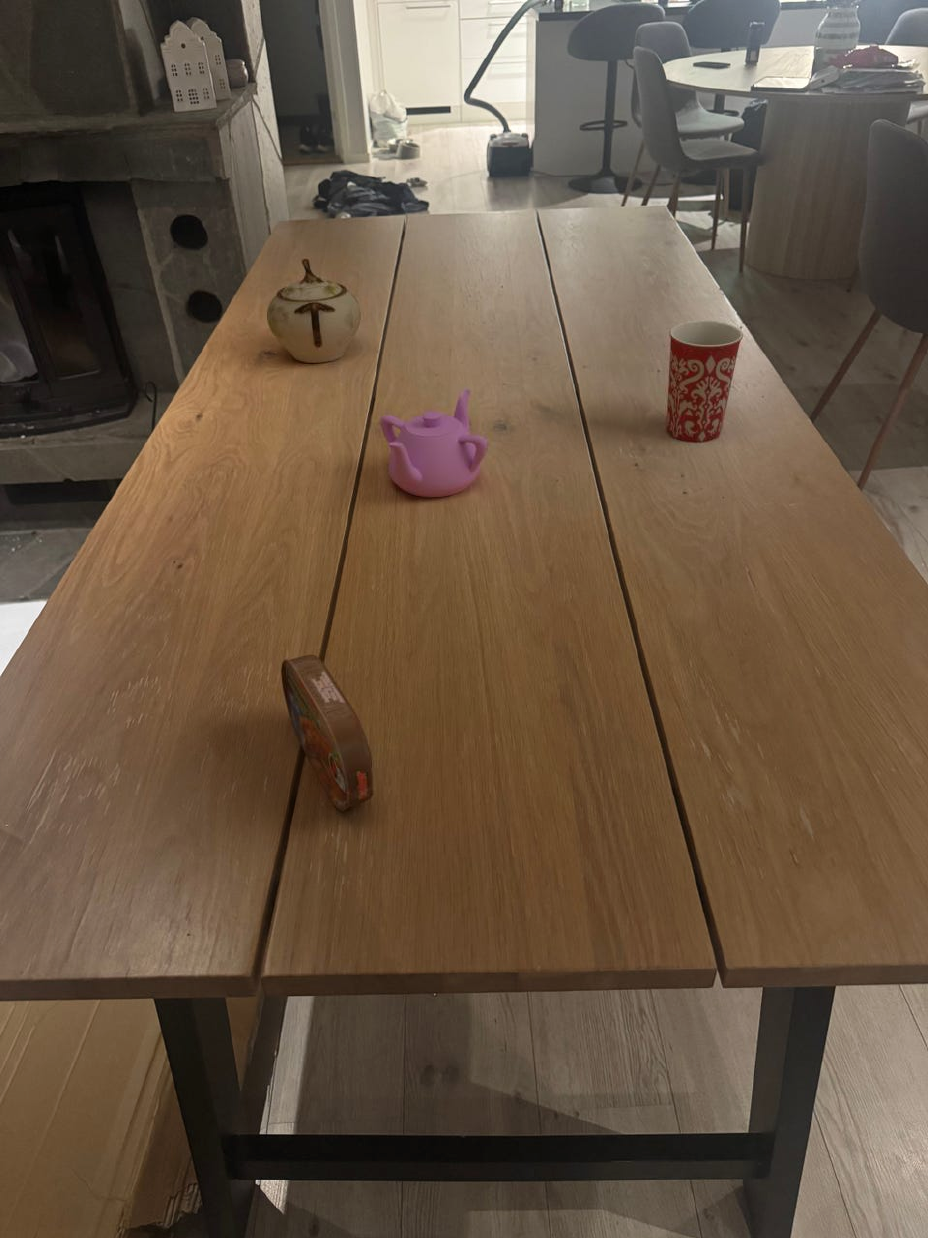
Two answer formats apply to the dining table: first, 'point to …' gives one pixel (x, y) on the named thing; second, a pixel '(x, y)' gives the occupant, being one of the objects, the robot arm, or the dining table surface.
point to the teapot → (434, 451)
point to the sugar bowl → (314, 318)
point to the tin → (328, 731)
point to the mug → (700, 378)
